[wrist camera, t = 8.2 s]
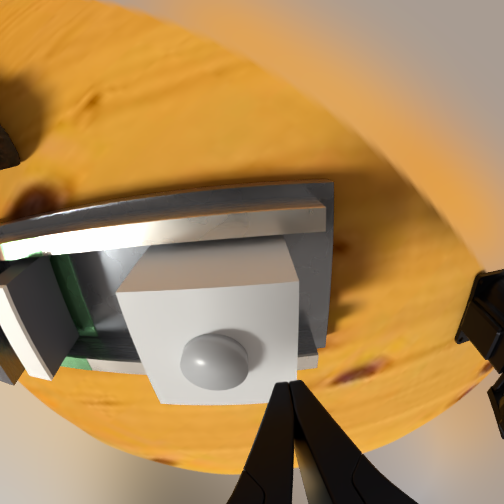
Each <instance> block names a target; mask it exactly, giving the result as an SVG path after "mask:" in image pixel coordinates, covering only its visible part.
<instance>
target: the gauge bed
mask: <svg viewBox="0 0 504 504" xmlns="http://www.w3.org/2000/svg"><path fill="white" fill-rule="evenodd" d="M333 224H334V182H332V181H331V180H329V179H310V180H288V181H271V182H256V183H243V184H231V185H220V186H210V187H200V188H191V189H183V190H174V191H166V192H159V193H151V194H144V195H138V196H131V197H125V198H118V199H112V200H106V201H101V202H95V203H89V204H84V205H79V206H74V207H69V208H64V209H59V210H54V211H50V212H45V213H40V214H36V215H32V216H28V217H23V218H19V219H15V220H11V221H7V222H4V223H0V274H1V273H2V272H4V271H5V270H6V269H8V268H9V267H10V266H11V265H13V264H14V263H15V262H17V261H18V260H19V259H22V258H31V257H40V256H47V255H48V256H49V259H50V262H51V265H52V268H53V271H54V274H55V277H56V280H57V283H58V285H59V288H60V291H61V293H62V296H63V299H64V301H65V304H66V306H67V308H68V311H69V313H70V316H71V318H72V320H73V322H74V325H75V327H76V329H77V331H78V333H79V337H78V339H77V340H76V342H75V343H74V345H73V347H72V348H71V350H70V351H69V353H68V354H67V356H66V358H65V359H64V361H63V362H62V364H61V366H64V367H70V368H77V369H84V370H96V371H105V372H116V373H128V374H143V375H147V373H146V371H145V369H144V367H143V364H142V362H141V360H140V357H139V355H138V352H137V350H136V348H135V345H134V343H133V340H132V337H131V335H130V332H129V330H128V327H127V324H126V322H125V319H124V316H123V313H122V310H121V307H120V305H119V302H118V299H117V296H116V293H115V292H116V291H117V290H118V288H119V287H120V285H121V284H122V282H123V281H124V280H125V278H126V277H127V276H128V274H129V273H130V271H131V270H132V269H133V267H134V266H135V265H136V263H137V262H138V261H139V259H140V258H141V257H142V255H143V254H144V253H145V251H146V250H147V249H148V248H149V246H150V245H158V244H169V243H181V242H192V241H204V240H216V239H229V238H242V237H255V236H268V235H282V234H283V237H284V239H285V242H286V245H287V248H288V251H289V254H290V256H291V259H292V262H293V265H294V268H295V271H296V274H297V277H298V279H299V325H298V357H297V370H303V369H311V368H317V364H318V352H317V349H316V348H324V347H325V344H326V335H327V325H328V314H329V302H330V289H331V273H332V254H333ZM24 370H25V367H24V366H23V364H22V363H21V361H20V359H19V358H18V356H17V354H16V353H15V351H14V349H13V348H12V346H11V344H10V342H9V340H8V339H7V337H6V335H5V333H4V331H3V329H2V327H1V325H0V381H2V382H5V383H8V384H11V385H15V384H16V382H17V380H18V379H19V377H20V376H21V374H22V373H23V371H24Z"/></svg>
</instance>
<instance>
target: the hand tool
mask: <svg viewBox="0 0 504 504" xmlns="http://www.w3.org/2000/svg"><path fill="white" fill-rule="evenodd" d="M19 164H20V159H19V156H18V152H17V150H16V149H15V147H14V145H13V143H12V142H11V140H10V137H9V135H8V134H7V133H6V132H5V129H4V128H2V126H1V125H0V170H2V169H7V168H11V167H14V166H18V165H19Z"/></svg>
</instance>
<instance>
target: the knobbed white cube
mask: <svg viewBox="0 0 504 504" xmlns="http://www.w3.org/2000/svg"><path fill="white" fill-rule="evenodd" d="M115 293H116V296H117V299H118V302H119V305H120V307H121V310H122V313H123V316H124V319H125V322H126V324H127V327H128V330H129V332H130V335H131V337H132V340H133V343H134V345H135V348H136V350H137V352H138V355H139V357H140V360H141V362H142V364H143V367H144V369H145V371H146V373H147V376H148V378H149V380H150V382H151V384H152V386H153V389H154V391H155V393H156V395H157V397H158V399H159V401H160V403H161V404H179V405H238V404H257V403H268V402H269V399H270V397H271V394H272V391H273V388H274V385H275V383H277V382H285V381H287V382H288V383H289V382H290V381H294V380H297V357H298V325H299V279H298V277H297V274H296V271H295V268H294V265H293V262H292V259H291V256H290V254H289V251H288V248H287V245H286V242H285V239H284V237H283V234H282V235H268V236H255V237H242V238H229V239H216V240H204V241H192V242H181V243H169V244H158V245H150V246H149V248H148V249H147V250H146V251H145V253H144V254H143V255H142V257H141V258H140V259H139V261H138V262H137V263H136V265H135V266H134V267H133V269H132V270H131V271H130V273H129V274H128V276H127V277H126V278H125V280H124V281H123V282H122V284H121V285H120V287H119V288H118V290H117V291H116V292H115Z"/></svg>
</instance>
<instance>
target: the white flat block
mask: <svg viewBox="0 0 504 504" xmlns="http://www.w3.org/2000/svg"><path fill="white" fill-rule="evenodd" d="M0 325H1V327H2V329H3V331H4V333H5V335H6V337H7V339H8V340H9V342H10V344H11V346H12V348H13V349H14V351H15V353H16V354H17V356H18V358H19V359H20V361H21V363H22V364H23V366H24V367H25V369H26V371H27V372H28V374H29V375H30V376H33V377H37V378H41V379H46V380H50V381H52V379H53V377H54V376H55V374H56V372H57V371H58V369H59V367H60V366H61V364H62V362H63V361H64V359H65V358H66V356H67V354H68V353H69V351H70V350H71V348H72V347H73V345H74V343H75V342H76V340H77V339H78V337H79V333H78V331H77V329H76V327H75V325H74V322H73V320H72V318H71V316H70V313H69V311H68V308H67V306H66V304H65V301H64V299H63V296H62V293H61V291H60V288H59V285H58V283H57V280H56V277H55V274H54V271H53V268H52V265H51V262H50V259H49V256H48V255H47V256H40V257H31V258H22V259H19V260H18V261H17V262H15V263H14V264H13V265H11V266H10V267H9V268H8V269H6V270H5V271H4V272H2V273H1V274H0Z"/></svg>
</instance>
